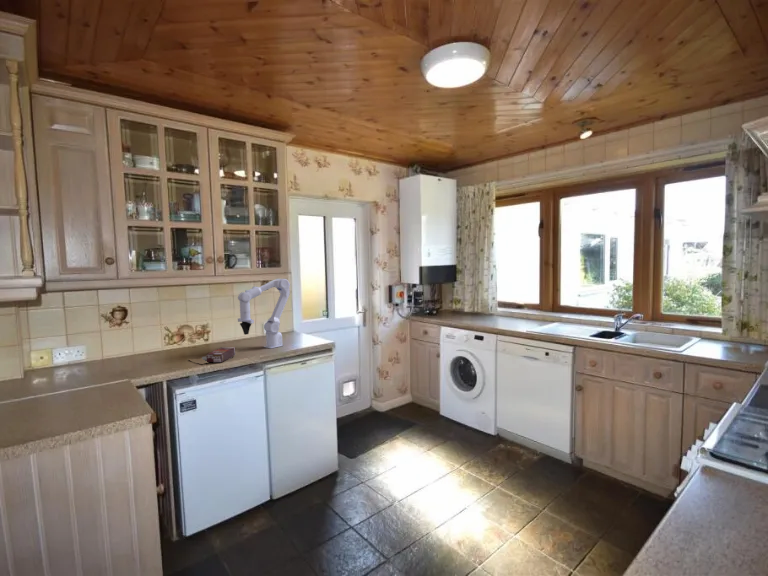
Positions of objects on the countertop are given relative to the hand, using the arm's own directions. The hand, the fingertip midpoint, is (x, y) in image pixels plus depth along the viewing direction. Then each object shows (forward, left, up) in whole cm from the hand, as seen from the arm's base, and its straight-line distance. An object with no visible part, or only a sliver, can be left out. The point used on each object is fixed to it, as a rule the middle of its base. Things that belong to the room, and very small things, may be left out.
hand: (246, 334), depth 233 cm
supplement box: (+13, +1, -8) cm, 15 cm away
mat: (+23, 0, -10) cm, 25 cm away
